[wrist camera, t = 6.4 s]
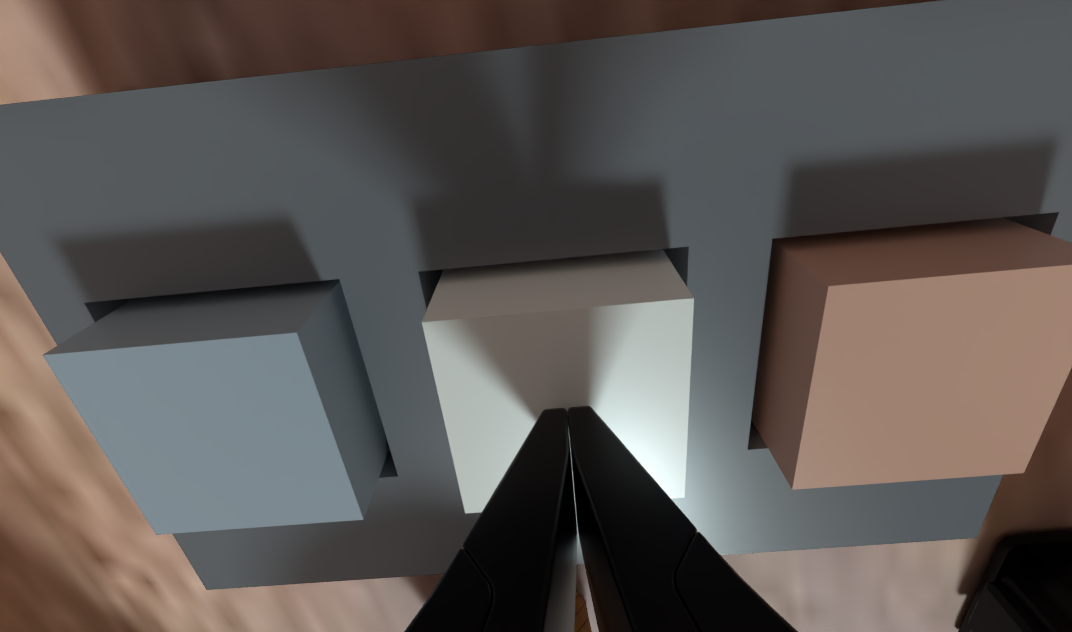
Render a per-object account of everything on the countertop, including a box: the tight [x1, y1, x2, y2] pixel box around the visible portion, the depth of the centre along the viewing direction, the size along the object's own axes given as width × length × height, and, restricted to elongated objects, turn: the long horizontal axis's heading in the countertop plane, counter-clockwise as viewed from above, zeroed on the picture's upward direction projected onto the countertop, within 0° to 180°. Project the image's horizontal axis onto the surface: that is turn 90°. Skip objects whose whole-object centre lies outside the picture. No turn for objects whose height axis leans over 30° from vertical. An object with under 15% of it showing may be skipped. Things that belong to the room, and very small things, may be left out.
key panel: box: [0, 0, 1072, 590], centre depth 13 cm, size 20×12×4 cm, turn 96°
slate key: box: [43, 279, 390, 535], centre depth 11 cm, size 4×4×4 cm
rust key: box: [751, 217, 1072, 490], centre depth 11 cm, size 4×4×4 cm
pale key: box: [422, 249, 694, 513], centre depth 11 cm, size 4×4×4 cm
